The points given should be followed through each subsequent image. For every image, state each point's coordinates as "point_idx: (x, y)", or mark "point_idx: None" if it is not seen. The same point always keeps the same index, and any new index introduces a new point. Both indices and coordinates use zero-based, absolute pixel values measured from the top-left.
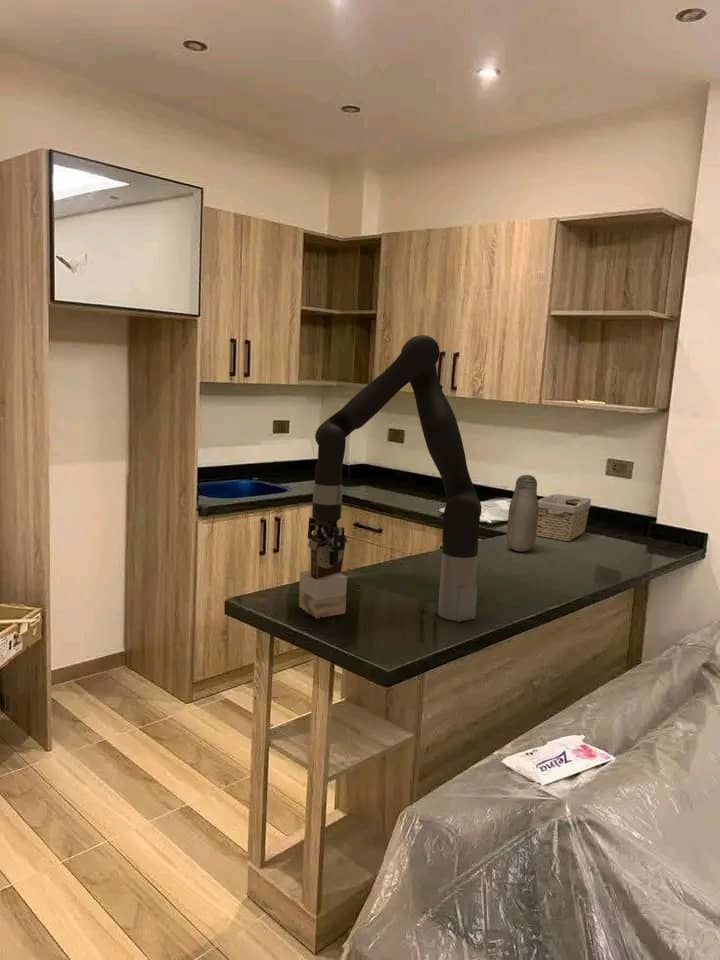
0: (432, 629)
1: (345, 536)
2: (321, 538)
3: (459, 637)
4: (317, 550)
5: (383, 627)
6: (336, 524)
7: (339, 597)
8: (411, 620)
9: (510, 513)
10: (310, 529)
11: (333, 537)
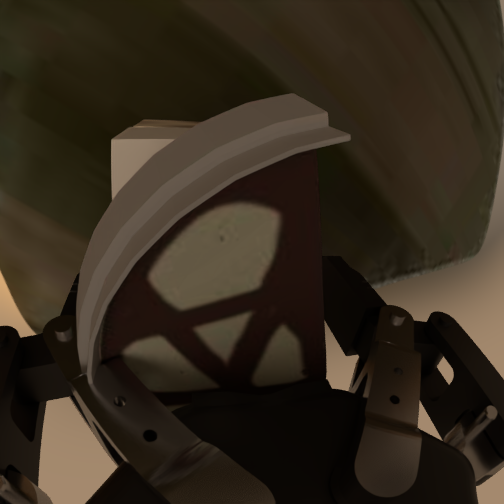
0: (460, 47)
1: (328, 141)
2: (166, 397)
3: (497, 54)
4: None
5: (402, 120)
6: (475, 501)
7: None
8: (409, 26)
9: None
10: (36, 465)
11: (161, 265)
